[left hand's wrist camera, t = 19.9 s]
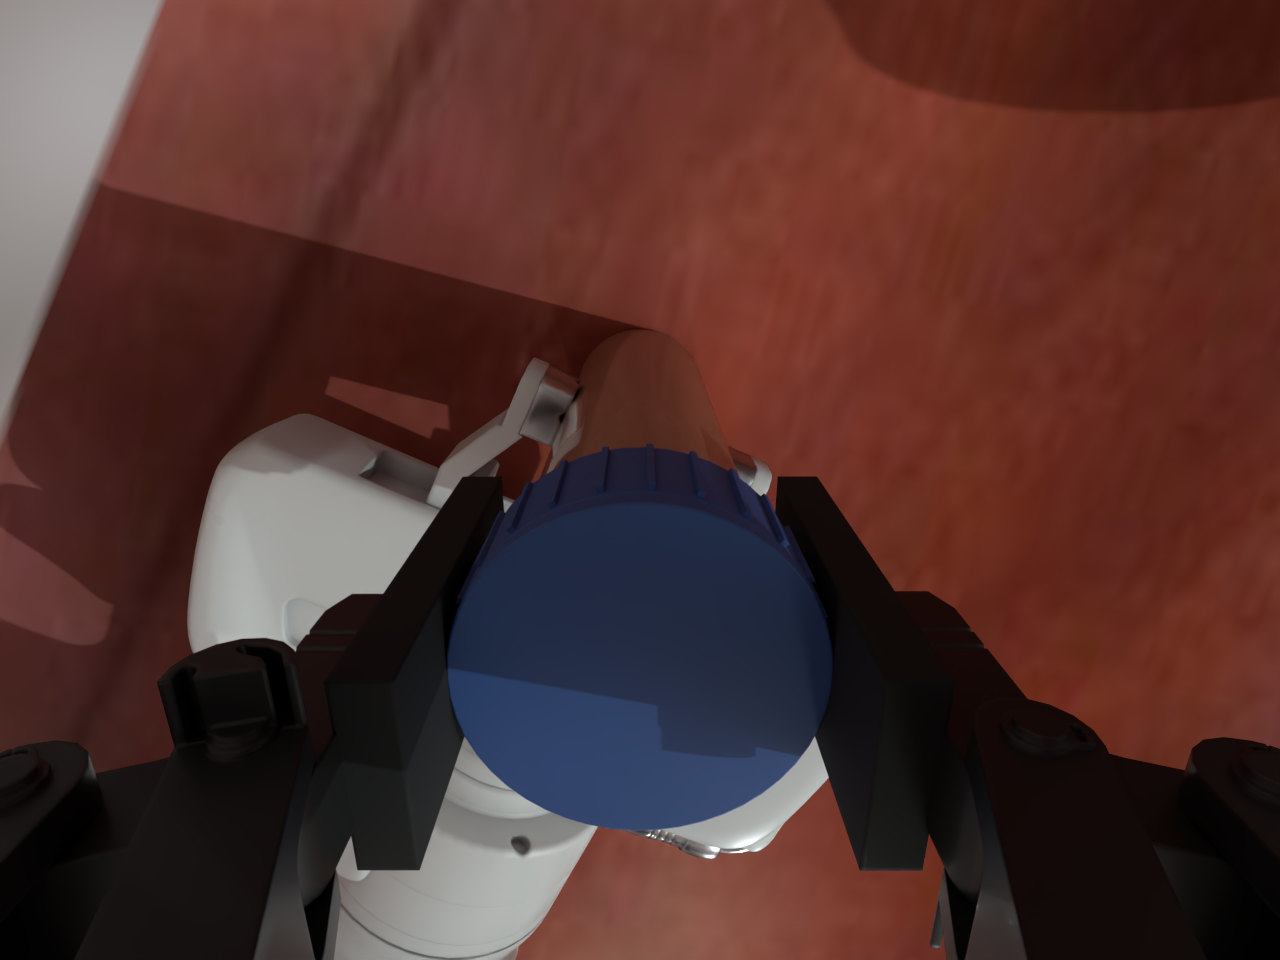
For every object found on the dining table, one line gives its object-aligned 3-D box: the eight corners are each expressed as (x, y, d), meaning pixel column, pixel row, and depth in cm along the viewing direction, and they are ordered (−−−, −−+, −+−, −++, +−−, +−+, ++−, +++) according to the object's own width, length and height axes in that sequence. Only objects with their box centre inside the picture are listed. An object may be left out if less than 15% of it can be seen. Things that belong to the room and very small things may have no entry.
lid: (582, 374, 11) (567, 414, 9) (870, 549, 12) (923, 627, 10) (421, 640, 12) (373, 733, 10) (686, 775, 14) (696, 886, 11)
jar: (705, 445, 27) (795, 758, 11) (584, 455, 27) (511, 778, 12) (698, 323, 26) (790, 493, 10) (570, 334, 26) (463, 519, 10)
